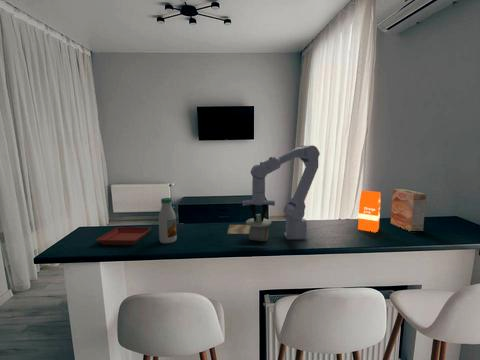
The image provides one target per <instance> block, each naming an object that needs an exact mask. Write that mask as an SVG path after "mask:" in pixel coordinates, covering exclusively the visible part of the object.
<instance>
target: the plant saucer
mask: <svg viewBox="0 0 480 360" xmlns="http://www.w3.org/2000/svg"><path fill="white" fill-rule="evenodd" d="M151 230H152V227H142V226H141V227H133V226H132V227H129V226H126V227H124V226H123V227H122V226H119V227H115V228H114V229H112V230H111V231H108V232H107V233H105V234H103V235H102V236H100V237H98V238H96V241H97V242H98V243H99V244H102V245H105V246H106V245H108V246H109V245H111V246H113V245H114V246H116V245H117V246H134V245H135V244H137V243H139V241H141V240H142V239H143V238H144V237H145V236H147V235H148V234H149V232H150V231H151Z"/></svg>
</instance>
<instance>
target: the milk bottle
mask: <svg viewBox="0 0 480 360" xmlns="http://www.w3.org/2000/svg"><path fill="white" fill-rule="evenodd" d="M172 201H173V200H172V198H171V197H164V198H161V200H160V202H161V203H160V204H161V208H160V211H159V214H158V237H159V242H160V243H161V244H172V243H174V242H176V241H177V237H178V235H177V218H176V213H175V211H174V210H175V209H174V208H173V206H172V203H173V202H172Z"/></svg>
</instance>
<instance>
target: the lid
mask: <svg viewBox="0 0 480 360" xmlns="http://www.w3.org/2000/svg"><path fill="white" fill-rule="evenodd" d="M255 218H256V221H254V217H252V218H248V219H247V220H246V221H245V225H249V226H253V227H265V226H267V227H269V226H271V225H272V221H271V220H270V219H267V218H265V217H264V219H263V221H262V213H261V214H260V213H258V214H257V213H255Z"/></svg>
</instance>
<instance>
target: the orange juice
mask: <svg viewBox="0 0 480 360" xmlns="http://www.w3.org/2000/svg"><path fill="white" fill-rule="evenodd" d="M380 217H381V191H372V190H371V191H370V190H361V193H360V196H359V204H358V218H357V219H358V220H357V221H358V224H357V230H360V231H366V232H370V231H371V233H376V232H377V233H378V232H379V229H380Z"/></svg>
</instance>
